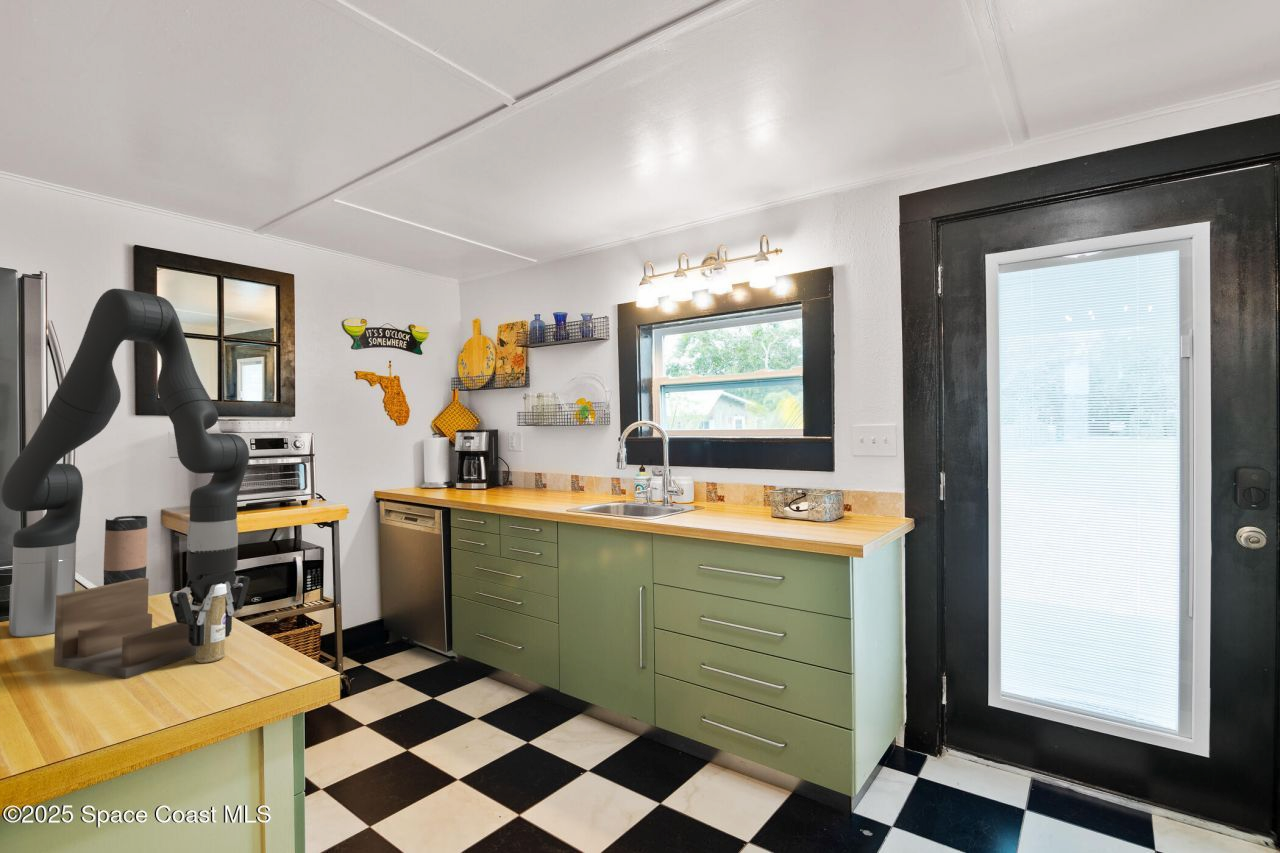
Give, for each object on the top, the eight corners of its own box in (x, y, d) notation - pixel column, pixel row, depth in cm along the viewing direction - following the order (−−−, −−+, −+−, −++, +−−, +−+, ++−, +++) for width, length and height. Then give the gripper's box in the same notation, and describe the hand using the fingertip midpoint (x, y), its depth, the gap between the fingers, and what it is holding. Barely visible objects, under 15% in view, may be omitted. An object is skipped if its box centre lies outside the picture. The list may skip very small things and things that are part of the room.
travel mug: (148, 605, 145) (150, 518, 145) (105, 611, 139) (107, 521, 139) (142, 598, 150) (144, 514, 150) (100, 604, 144) (102, 517, 144)
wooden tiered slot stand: (53, 665, 108) (55, 595, 108) (139, 640, 121) (141, 577, 121) (126, 678, 103) (128, 605, 103) (206, 650, 116) (208, 585, 117)
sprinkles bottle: (225, 660, 112) (227, 584, 112) (193, 665, 109) (196, 587, 109) (225, 652, 115) (227, 579, 116) (194, 657, 113) (196, 582, 113)
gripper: (232, 537, 120) (230, 627, 120) (156, 550, 107) (153, 651, 106) (263, 540, 118) (261, 631, 118) (190, 553, 105) (187, 657, 104)
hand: (210, 640), depth 112 cm, fingers closed on sprinkles bottle, 4 cm apart
